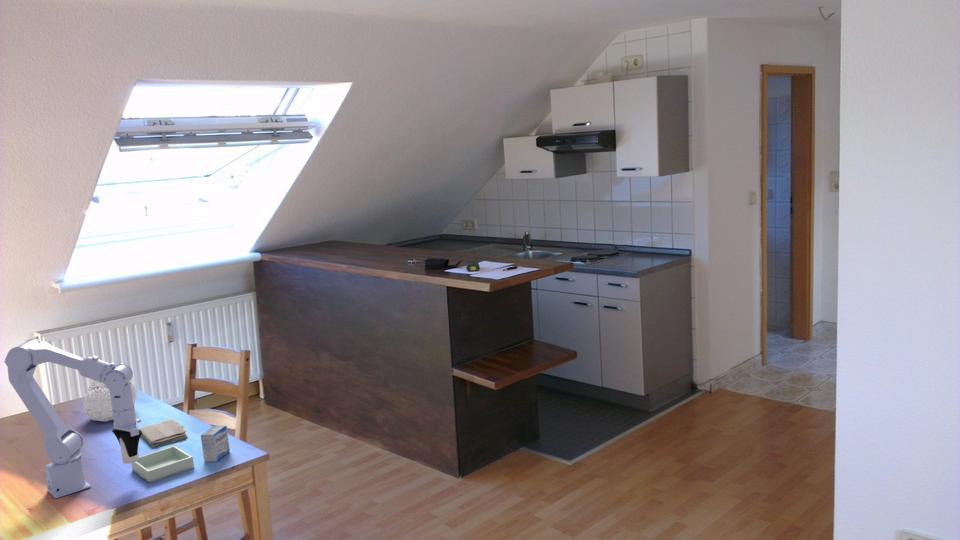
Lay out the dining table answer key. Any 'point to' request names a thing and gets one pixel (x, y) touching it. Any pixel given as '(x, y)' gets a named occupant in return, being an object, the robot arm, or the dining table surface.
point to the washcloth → (163, 433)
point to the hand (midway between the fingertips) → (130, 453)
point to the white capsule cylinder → (125, 455)
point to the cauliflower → (100, 401)
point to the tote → (162, 464)
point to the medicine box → (215, 443)
